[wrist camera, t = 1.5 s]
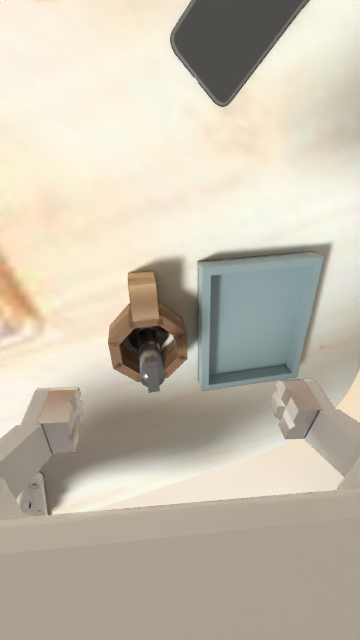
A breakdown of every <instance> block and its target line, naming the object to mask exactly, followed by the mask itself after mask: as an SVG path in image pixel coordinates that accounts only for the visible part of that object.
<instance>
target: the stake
mask: <svg viewBox="0 0 360 640" xmlns="http://www.w3.org/2000/svg"><path fill="white" fill-rule="evenodd" d="M165 340H166V330H165V329H164V328H162V327H161V326H150V327H141V328H134V329H133V330H132V331H131V333H130V334H129V341H130V343H131V345H132V346H133V347H134V348H136V349H138V350H139V361H140V377H141V382H142V384H143V385H145V386H147V387H148V390H149V392H156V391H160V388H159V385H161V384H162V383H163V381H164V379H165V375H164V369H163V364H162V358H161V352H160V347H161V346H162V345H163V344H164V342H165Z"/></svg>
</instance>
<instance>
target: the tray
mask: <svg viewBox="0 0 360 640" xmlns="http://www.w3.org/2000/svg"><path fill="white" fill-rule="evenodd" d="M323 260H324V257H323V256H321V255H319V254H317V253H315V252H313V251H309V252H298V253H286V254H275V255H264V256H253V257H241V258H230V259H219V260H207V261H198V380H199V383H200V387H201V390H202V391H207V390H214V389H220V388H227V387H234V386H241V385H247V384H254V383H261V382H268V381H275V380H281V379H288V378H295V377H297V374H298V369H299V365H300V361H301V356H302V352H303V347H304V343H305V339H306V334H307V330H308V326H309V321H310V317H311V312H312V308H313V304H314V299H315V295H316V290H317V286H318V282H319V277H320V273H321V268H322V264H323Z"/></svg>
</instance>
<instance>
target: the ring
mask: <svg viewBox="0 0 360 640" xmlns="http://www.w3.org/2000/svg"><path fill="white" fill-rule="evenodd" d="M128 290H129V297H130V304H128V306H127V307H126V308H125V309H124V310H123V311H122V312H121V314H120V315H119V316H118V317H117V318H116V319H115V320H114V322H113V323H112V324H111V325H110V330H109V339H108V345H109V350H110V355H111V360H112V365H113V369H115V370H117V371H119V372H121V373H122V374H124V375H126V376H128V377H130V378H131V379H133V380H135V381H137V382H141V377H140V361H139V355H137V354H136V353H134V352H132V351H131V350H129V349H127V348H126V347H124V346H123V343H122V341H123V340H124V339H125V338H126V337H127V336H128V335H129V334H130V333H131V331H132V330H133V329H134V328H141V327H150V326H161V327H162V328H164V329H165V330H166V331H168V332H169V333H171V334H172V335H173V338H174V340H173V341H172V342H171V343H170V344H169V345H168V346H167V347H166V348H165V349H164V350H163V351H162V352H161V358H162V364H163V369H164V375H165V378H168V377H169V376H170V375H171V374H172V373H173V372H174V371H175V370H176V369H177V368H178V367H179V366H180V365H181V364H183V363H184V362H185V361H186V360H187V333H186V330H185V327H184V324H183V321H182V318H181V317H180V316H179V315H177V314H176V313H175V312H173V311H172V310H170V309H169V308H168V307H166V306H165V305H164V304H162V303H161V302H160V301H157V289H156V281H155V277H154V273H153V271H147V272H136V273H128Z"/></svg>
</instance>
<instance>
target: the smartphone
mask: <svg viewBox="0 0 360 640" xmlns="http://www.w3.org/2000/svg"><path fill="white" fill-rule="evenodd" d="M307 2H308V0H191V2H190V4H189V5H188V7H187V8H186V10H185V11H184V13H183V15H182V16H181V18H180V19H179V21H178V22H177V24H176V26H175V27H174V29H173V31H172V33H171V37H170V42H171V46H172V49H173V51H174V53H175V55H176V56H177V57H178V58H179V60H180V61H181V62H182V63H183V64H184V66H185V67H186V68H187V69H188V71H189V72H190V73H191V74H192V76H193V77H195V78H196V79H197V81H198V83H199V84H200V86H201V87H202V88H203V89H204V91H205V92H206V93H207V94H208V95H209V97H210V98H211V99H212V100H213V102H214V103H215V104H217V105H218V106H221V107H225V106H227V105H228V104H229V103H230V102H231V101H232V99H233V98H234V97H235V95H236V94H237V93H238V91H239V90H240V89H241V87H242V86H243V85H244V83H245V82H246V81H247V79H248V78H249V77H250V76H251V74H252V73H253V72H254V70H255V69H256V68H257V66H258V65H259V64H260V62H261V61H262V60H263V58H264V57H265V56H266V54H267V53H268V52H269V51H270V49H271V48H272V47H273V45H274V44H275V43H276V41H277V40H278V39H279V37H280V36H281V35H282V33H283V32H284V31H285V29H286V28H287V27H288V25H289V24H290V23H291V22H292V20H293V19H294V18H295V16H296V15H297V14H298V12H299V11H300V10H301V9H302V8H303V7H304V6H305V4H306V3H307Z"/></svg>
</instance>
